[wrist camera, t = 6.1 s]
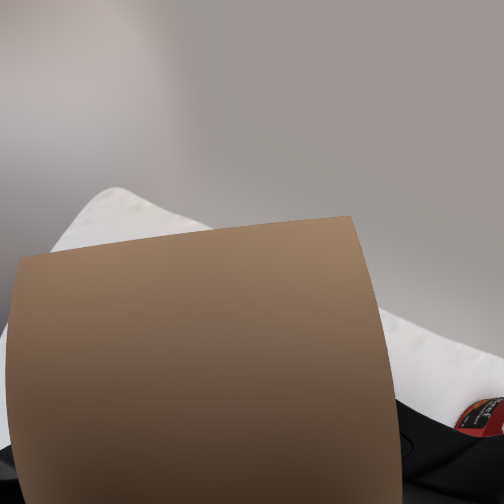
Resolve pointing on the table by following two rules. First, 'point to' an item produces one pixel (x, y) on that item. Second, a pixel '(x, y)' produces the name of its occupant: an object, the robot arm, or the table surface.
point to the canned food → (483, 418)
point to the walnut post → (203, 371)
